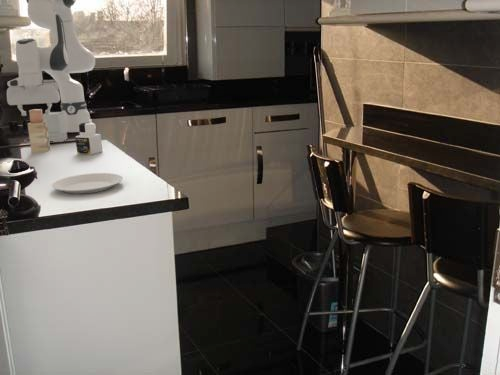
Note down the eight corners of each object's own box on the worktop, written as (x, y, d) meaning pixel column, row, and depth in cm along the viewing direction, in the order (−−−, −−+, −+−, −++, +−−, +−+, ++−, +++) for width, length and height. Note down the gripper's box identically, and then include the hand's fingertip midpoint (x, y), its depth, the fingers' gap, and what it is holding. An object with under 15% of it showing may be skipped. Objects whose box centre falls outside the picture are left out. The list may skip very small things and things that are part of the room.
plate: (67, 202, 165) (66, 194, 165) (43, 188, 182) (42, 181, 181) (134, 188, 177) (134, 181, 176) (107, 176, 193) (106, 170, 193)
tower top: (32, 131, 243) (31, 121, 242) (47, 130, 244) (46, 120, 243) (28, 133, 238) (27, 123, 237) (44, 132, 238) (42, 122, 237)
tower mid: (34, 140, 245) (33, 131, 244) (49, 139, 245) (47, 130, 244) (30, 143, 239) (28, 133, 238) (45, 142, 239) (44, 132, 238)
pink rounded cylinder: (32, 121, 242) (31, 109, 241) (45, 121, 242) (43, 108, 241) (29, 123, 237) (27, 111, 236) (41, 122, 238) (40, 110, 236)
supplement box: (68, 139, 268) (64, 111, 265) (61, 142, 261) (57, 113, 258) (52, 139, 269) (48, 112, 266) (45, 142, 262) (41, 114, 259)
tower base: (35, 150, 246) (34, 140, 245) (50, 149, 246) (49, 139, 245) (31, 152, 240) (30, 143, 239) (46, 152, 240) (45, 142, 239)
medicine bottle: (76, 154, 232) (73, 124, 229) (89, 150, 238) (86, 121, 235) (90, 155, 229) (87, 124, 226) (103, 151, 235) (99, 121, 232)
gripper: (59, 78, 239) (63, 112, 243) (8, 81, 238) (13, 115, 242) (55, 79, 233) (60, 114, 237) (3, 82, 232) (8, 117, 235)
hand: (36, 115), depth 239 cm, fingers open, 8 cm apart
